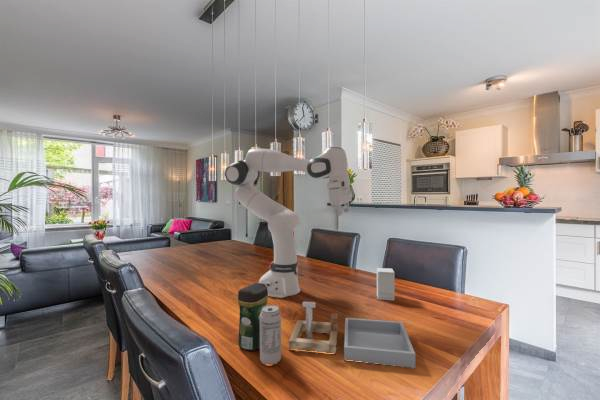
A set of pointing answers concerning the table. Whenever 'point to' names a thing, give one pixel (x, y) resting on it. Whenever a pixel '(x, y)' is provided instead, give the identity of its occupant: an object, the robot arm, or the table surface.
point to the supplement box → (385, 284)
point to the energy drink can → (270, 334)
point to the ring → (317, 327)
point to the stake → (309, 318)
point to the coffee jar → (251, 314)
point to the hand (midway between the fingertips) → (343, 213)
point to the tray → (378, 342)
